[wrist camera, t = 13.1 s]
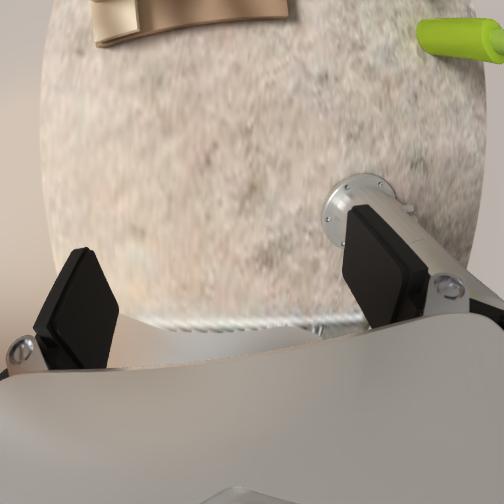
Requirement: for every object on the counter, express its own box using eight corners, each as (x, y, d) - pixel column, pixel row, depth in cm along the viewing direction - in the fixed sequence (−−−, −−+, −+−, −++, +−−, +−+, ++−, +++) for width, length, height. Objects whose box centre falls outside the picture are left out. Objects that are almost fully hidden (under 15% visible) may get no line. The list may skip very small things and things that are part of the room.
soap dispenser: (405, 27, 28) (518, 30, 11) (433, 15, 26) (540, 19, 10) (422, 62, 31) (533, 85, 14) (449, 48, 29) (554, 68, 13)
